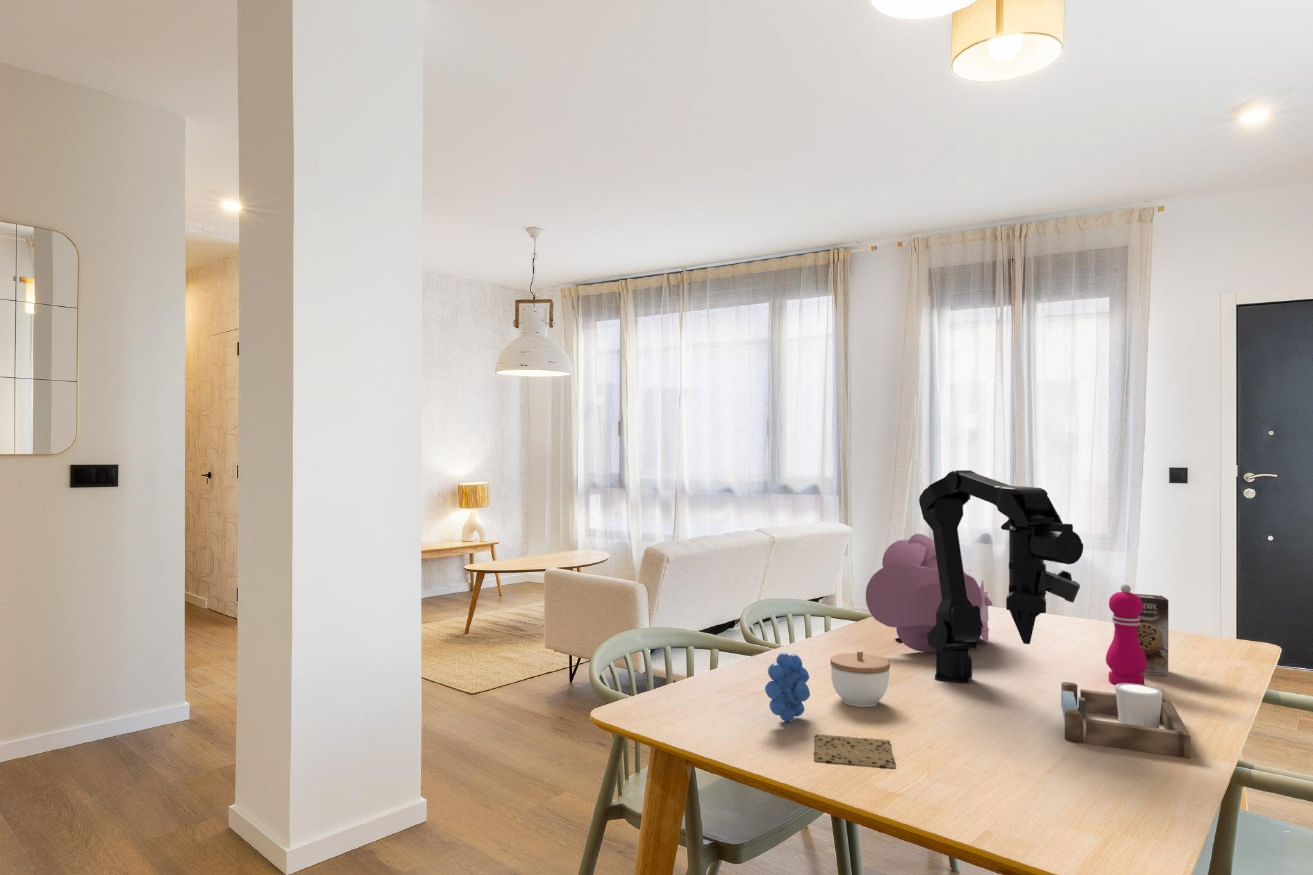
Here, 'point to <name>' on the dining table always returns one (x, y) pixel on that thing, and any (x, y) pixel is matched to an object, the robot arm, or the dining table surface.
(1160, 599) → the dark tall box
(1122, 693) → the white cup
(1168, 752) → the fence
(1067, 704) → the gate
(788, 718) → the grapes
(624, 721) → the dining table surface
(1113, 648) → the pepper mill
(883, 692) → the lidded jar
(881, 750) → the cookie
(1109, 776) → the dining table surface
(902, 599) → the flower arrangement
